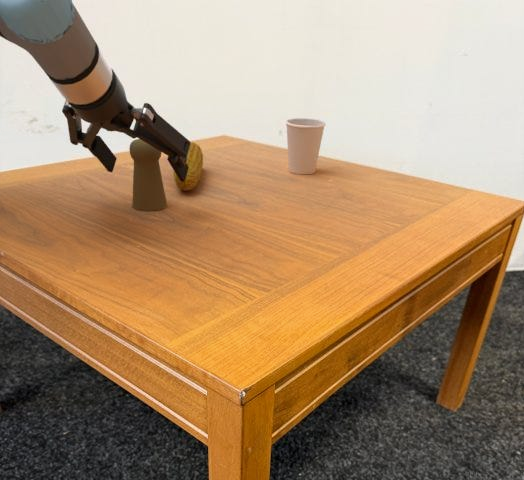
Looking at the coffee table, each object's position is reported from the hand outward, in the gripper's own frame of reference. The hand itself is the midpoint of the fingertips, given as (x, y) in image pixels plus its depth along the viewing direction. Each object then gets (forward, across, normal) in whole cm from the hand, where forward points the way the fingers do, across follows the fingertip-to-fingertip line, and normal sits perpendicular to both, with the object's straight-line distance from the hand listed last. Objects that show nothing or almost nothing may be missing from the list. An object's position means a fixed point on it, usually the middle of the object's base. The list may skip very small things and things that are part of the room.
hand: (148, 169), depth 94 cm
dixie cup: (+27, -20, -19) cm, 39 cm away
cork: (+3, 0, +5) cm, 6 cm away
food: (+15, -1, -7) cm, 17 cm away
